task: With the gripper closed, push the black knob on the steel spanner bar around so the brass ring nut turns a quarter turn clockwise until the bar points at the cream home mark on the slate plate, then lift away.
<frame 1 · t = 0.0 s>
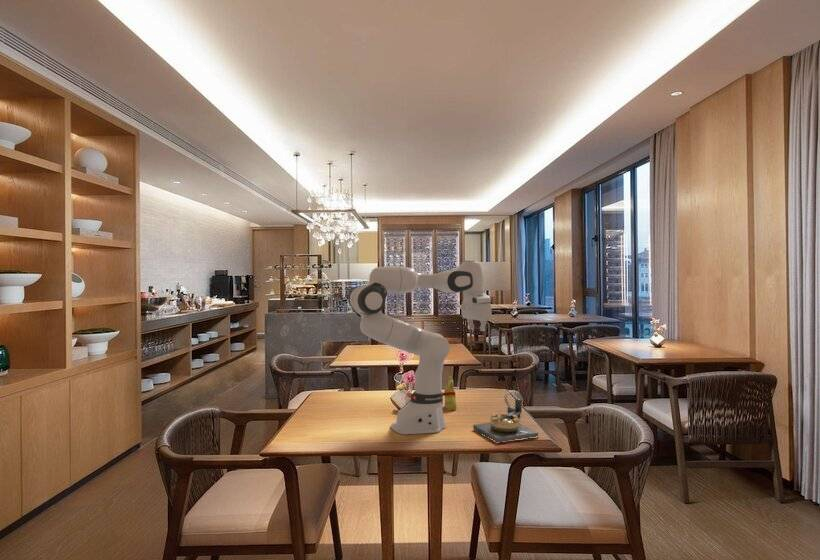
hand: (477, 329, 204), 39 cm above the table, tool pointing down, fingers open, 8 cm apart
watch: (513, 415, 211), on the table
ring nut: (509, 414, 189), point 7 cm above the table, hinge at 0.0°
chocolate bunny: (448, 408, 224), on the table
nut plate: (504, 433, 186), on the table
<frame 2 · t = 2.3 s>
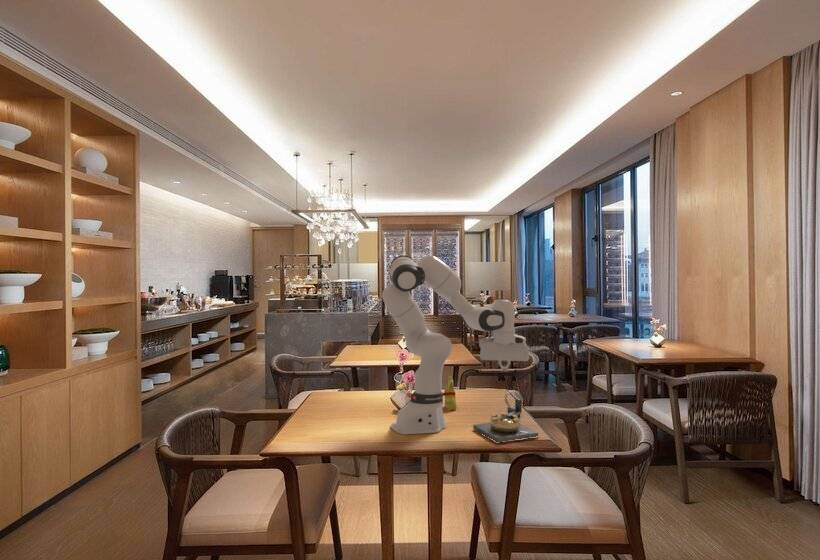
hand: (504, 371, 198), 22 cm above the table, tool pointing down, fingers closed
nothing on the table moved.
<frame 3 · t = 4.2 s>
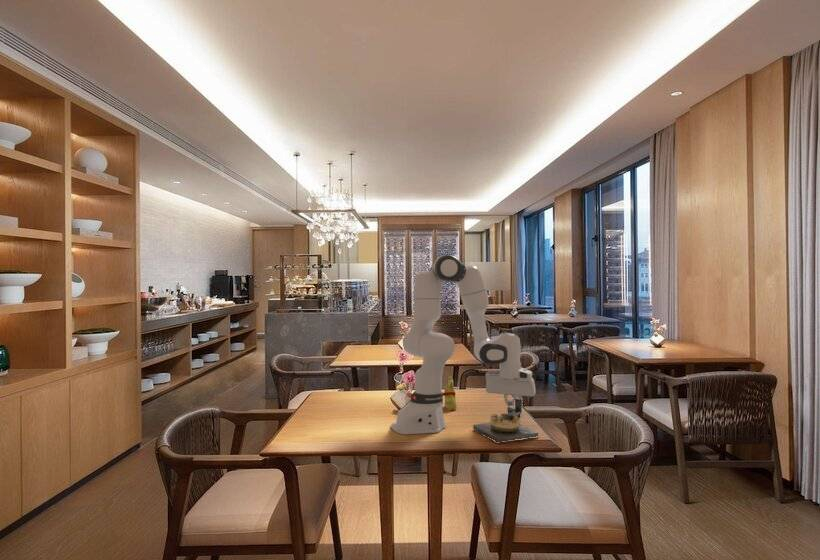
hand: (510, 405, 197), 8 cm above the table, tool pointing down, fingers closed
ring nut: (509, 414, 189), point 7 cm above the table, hinge at 0.0°, touching gripper
everything else where it was.
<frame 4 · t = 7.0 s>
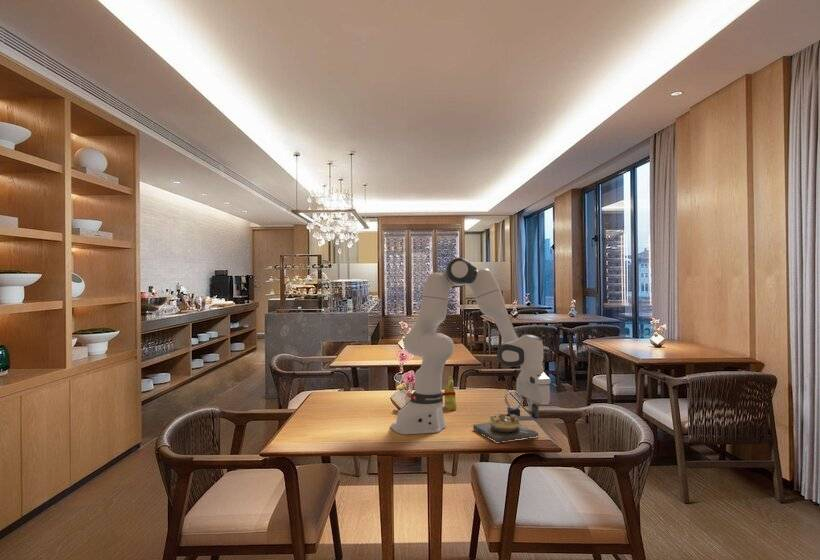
hand: (532, 410, 190), 8 cm above the table, tool pointing down, fingers closed
ring nut: (514, 416, 186), point 7 cm above the table, hinge at -49.3°, touching gripper
everything else where it was.
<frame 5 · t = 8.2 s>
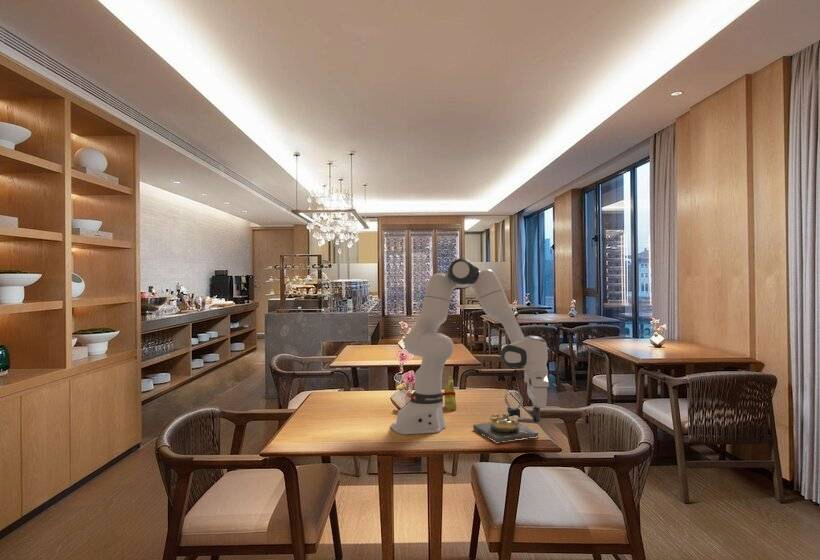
hand: (536, 413, 186), 8 cm above the table, tool pointing down, fingers closed
ring nut: (514, 417, 185), point 7 cm above the table, hinge at -69.3°, touching gripper
everything else where it was.
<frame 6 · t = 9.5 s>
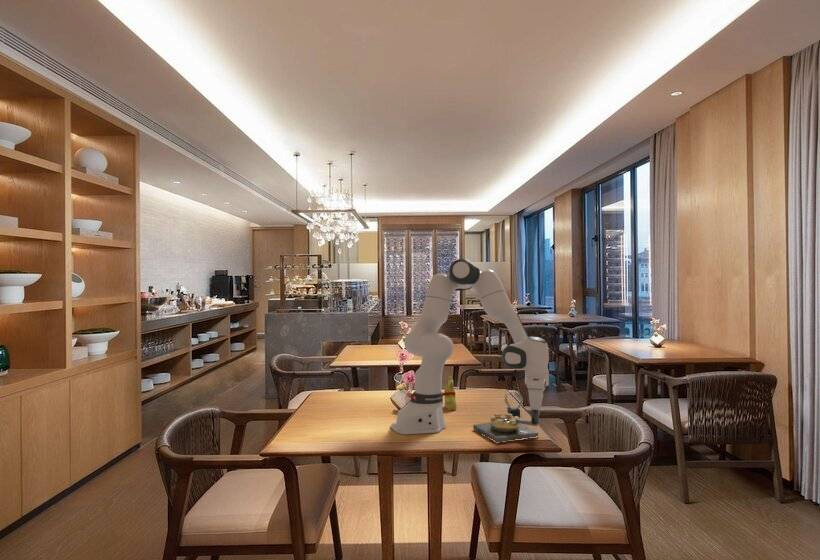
hand: (536, 415, 183), 8 cm above the table, tool pointing down, fingers closed
ring nut: (514, 418, 184), point 7 cm above the table, hinge at -84.0°, touching gripper
everything else where it was.
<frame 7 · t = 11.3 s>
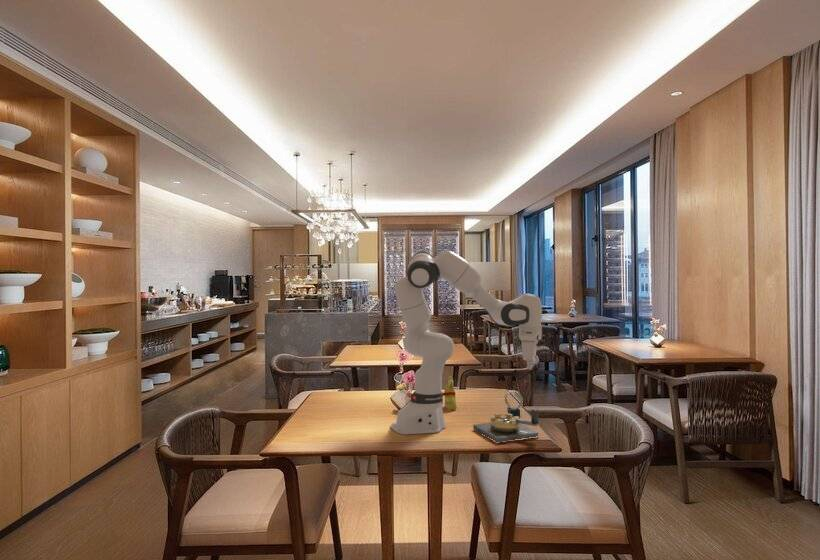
hand: (529, 368, 190), 25 cm above the table, tool pointing down, fingers closed
ring nut: (514, 418, 184), point 7 cm above the table, hinge at -84.2°
everything else where it was.
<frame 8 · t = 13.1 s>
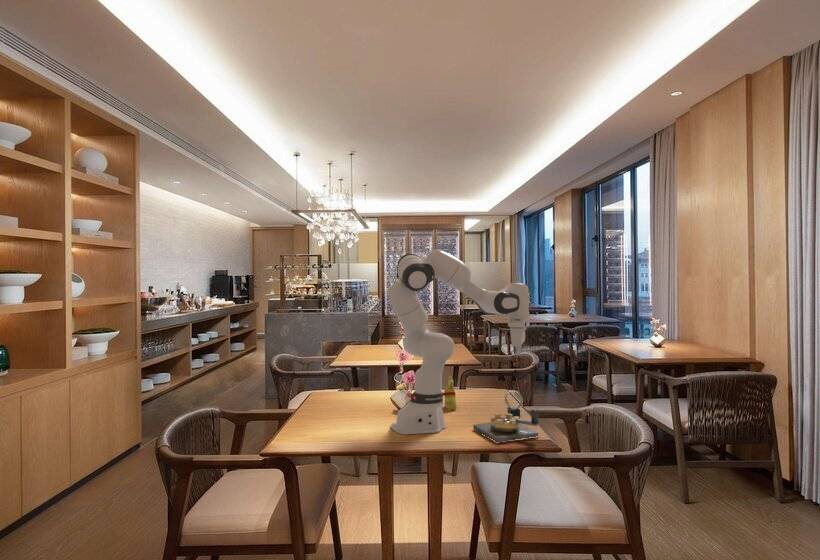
hand: (518, 354, 198), 29 cm above the table, tool pointing down, fingers closed
nothing on the table moved.
at the end: ring nut at -84° (first picture: +0°); watch moved 0.2 cm from its start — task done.
